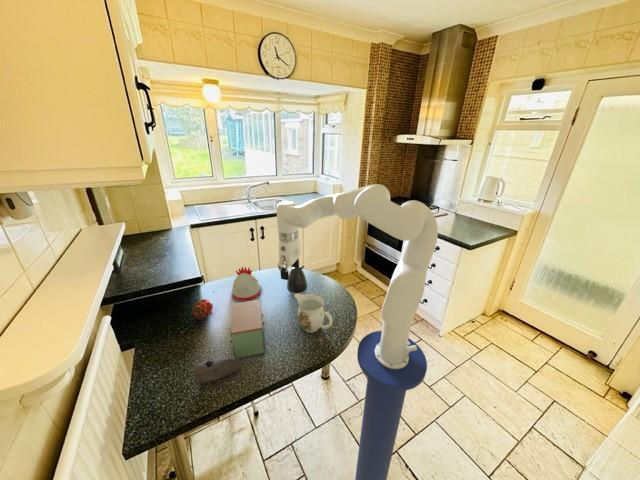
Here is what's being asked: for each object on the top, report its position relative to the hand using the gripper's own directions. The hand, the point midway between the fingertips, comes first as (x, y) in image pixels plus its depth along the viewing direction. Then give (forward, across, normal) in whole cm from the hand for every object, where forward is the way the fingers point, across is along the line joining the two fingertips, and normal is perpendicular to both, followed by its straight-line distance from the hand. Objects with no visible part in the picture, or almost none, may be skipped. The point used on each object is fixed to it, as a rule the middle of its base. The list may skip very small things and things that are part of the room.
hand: (290, 273), depth 104 cm
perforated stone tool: (+24, -34, +11) cm, 43 cm away
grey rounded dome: (+24, +10, +30) cm, 40 cm away
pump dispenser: (+24, +18, +6) cm, 30 cm away
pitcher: (+24, -2, -10) cm, 26 cm away
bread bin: (+24, -17, +11) cm, 31 cm away
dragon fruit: (+24, -12, +39) cm, 47 cm away
